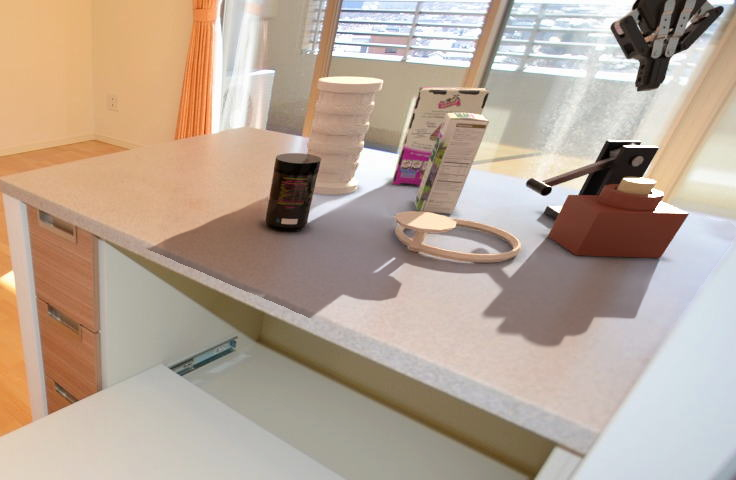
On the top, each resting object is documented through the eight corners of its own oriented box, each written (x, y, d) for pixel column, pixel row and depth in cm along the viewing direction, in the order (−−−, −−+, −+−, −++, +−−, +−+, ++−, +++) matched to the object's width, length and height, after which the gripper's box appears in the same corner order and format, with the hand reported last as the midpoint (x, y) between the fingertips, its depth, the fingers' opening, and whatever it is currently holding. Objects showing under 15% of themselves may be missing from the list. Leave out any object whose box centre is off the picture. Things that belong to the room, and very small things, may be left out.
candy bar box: (452, 183, 107) (488, 87, 97) (454, 190, 104) (491, 91, 93) (390, 178, 111) (419, 85, 101) (390, 185, 107) (420, 88, 97)
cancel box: (625, 238, 82) (658, 183, 77) (660, 258, 76) (698, 199, 71) (547, 236, 84) (574, 181, 79) (575, 255, 77) (607, 197, 73)
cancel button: (637, 190, 76) (645, 176, 75) (654, 197, 74) (662, 183, 72) (609, 189, 77) (617, 176, 76) (625, 196, 74) (633, 183, 73)
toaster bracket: (575, 232, 85) (619, 150, 77) (543, 212, 92) (580, 136, 85) (638, 234, 84) (689, 151, 76) (601, 214, 91) (644, 137, 84)
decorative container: (369, 190, 105) (400, 81, 93) (322, 197, 101) (348, 85, 90) (328, 176, 113) (352, 74, 102) (283, 182, 110) (302, 78, 99)
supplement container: (300, 219, 92) (314, 152, 85) (311, 233, 86) (327, 163, 80) (260, 219, 92) (271, 153, 86) (268, 233, 87) (281, 163, 80)
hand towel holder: (563, 223, 76) (453, 243, 70) (547, 253, 78) (440, 275, 73) (460, 191, 88) (360, 206, 83) (450, 218, 91) (352, 235, 85)
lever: (540, 200, 85) (541, 185, 83) (525, 191, 89) (525, 177, 87) (646, 164, 80) (648, 148, 79) (625, 156, 84) (627, 141, 83)
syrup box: (413, 202, 98) (443, 111, 89) (449, 205, 97) (484, 113, 88) (416, 211, 94) (448, 117, 85) (454, 214, 92) (491, 119, 83)
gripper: (714, -50, 76) (675, 91, 82) (609, -38, 77) (579, 99, 83) (770, -78, 69) (723, 79, 75) (653, -64, 71) (616, 88, 77)
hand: (647, 89), depth 79 cm, fingers closed
